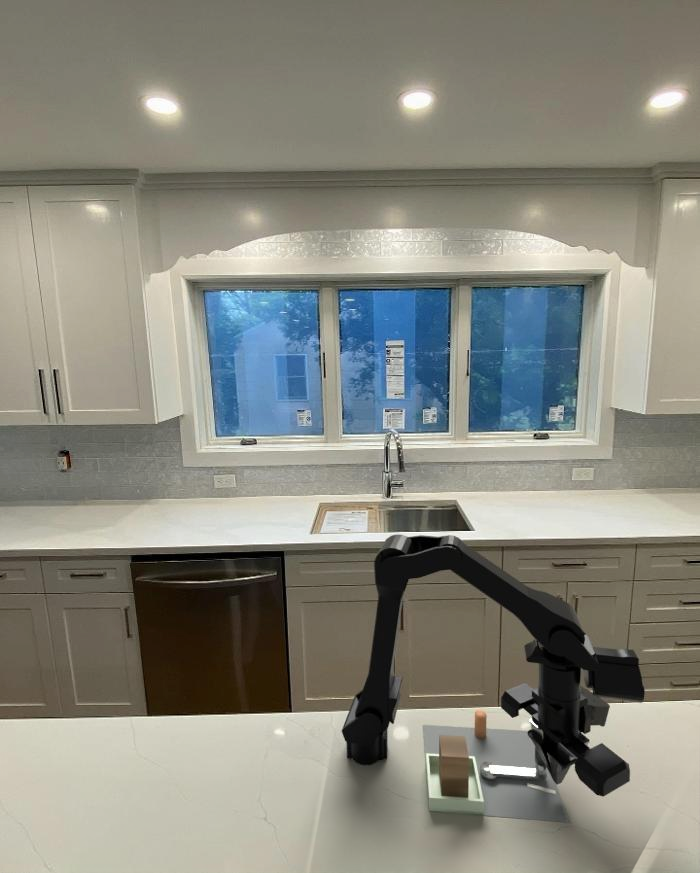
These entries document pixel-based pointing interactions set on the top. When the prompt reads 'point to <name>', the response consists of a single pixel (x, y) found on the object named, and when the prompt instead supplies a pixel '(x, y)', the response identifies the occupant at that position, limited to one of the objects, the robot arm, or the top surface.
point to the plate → (507, 751)
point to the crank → (515, 770)
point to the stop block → (453, 766)
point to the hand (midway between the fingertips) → (558, 782)
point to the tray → (453, 804)
